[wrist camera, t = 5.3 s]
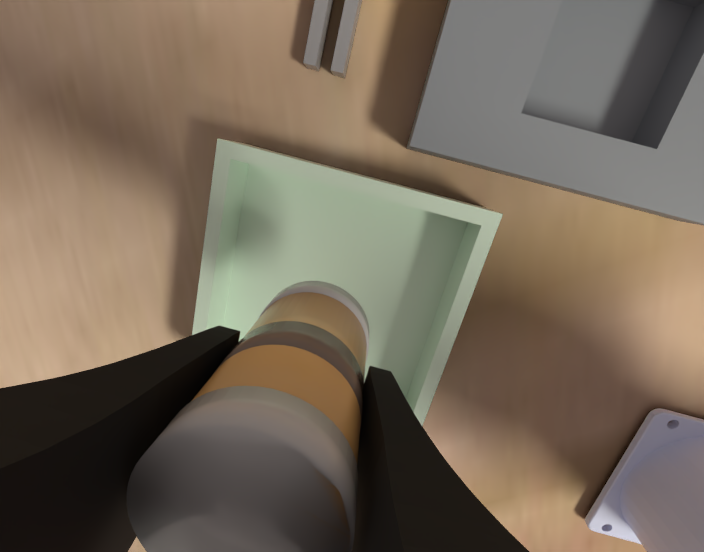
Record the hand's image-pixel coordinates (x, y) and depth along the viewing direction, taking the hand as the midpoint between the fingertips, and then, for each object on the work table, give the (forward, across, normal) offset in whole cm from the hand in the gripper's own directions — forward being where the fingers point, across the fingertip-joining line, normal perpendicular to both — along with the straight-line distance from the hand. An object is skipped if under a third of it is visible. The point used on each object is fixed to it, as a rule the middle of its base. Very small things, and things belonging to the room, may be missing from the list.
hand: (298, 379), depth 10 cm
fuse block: (+8, -8, -12) cm, 16 cm away
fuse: (+3, 0, 0) cm, 3 cm away
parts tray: (+8, 0, 0) cm, 8 cm away
